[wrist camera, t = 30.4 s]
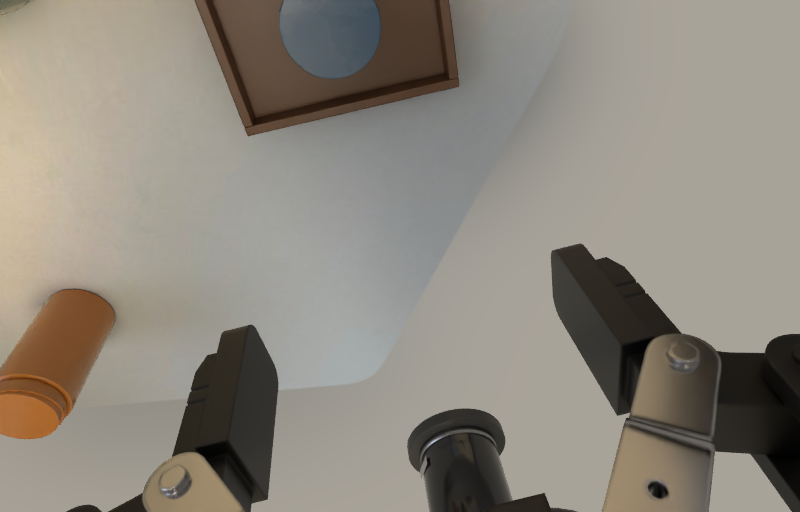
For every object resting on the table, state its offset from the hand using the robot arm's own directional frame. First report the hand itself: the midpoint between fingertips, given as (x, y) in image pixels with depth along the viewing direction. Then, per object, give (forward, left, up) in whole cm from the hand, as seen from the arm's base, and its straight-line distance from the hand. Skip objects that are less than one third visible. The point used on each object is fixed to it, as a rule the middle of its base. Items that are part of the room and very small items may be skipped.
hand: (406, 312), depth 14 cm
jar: (-14, +27, -25) cm, 39 cm away
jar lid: (+3, +1, -23) cm, 23 cm away
